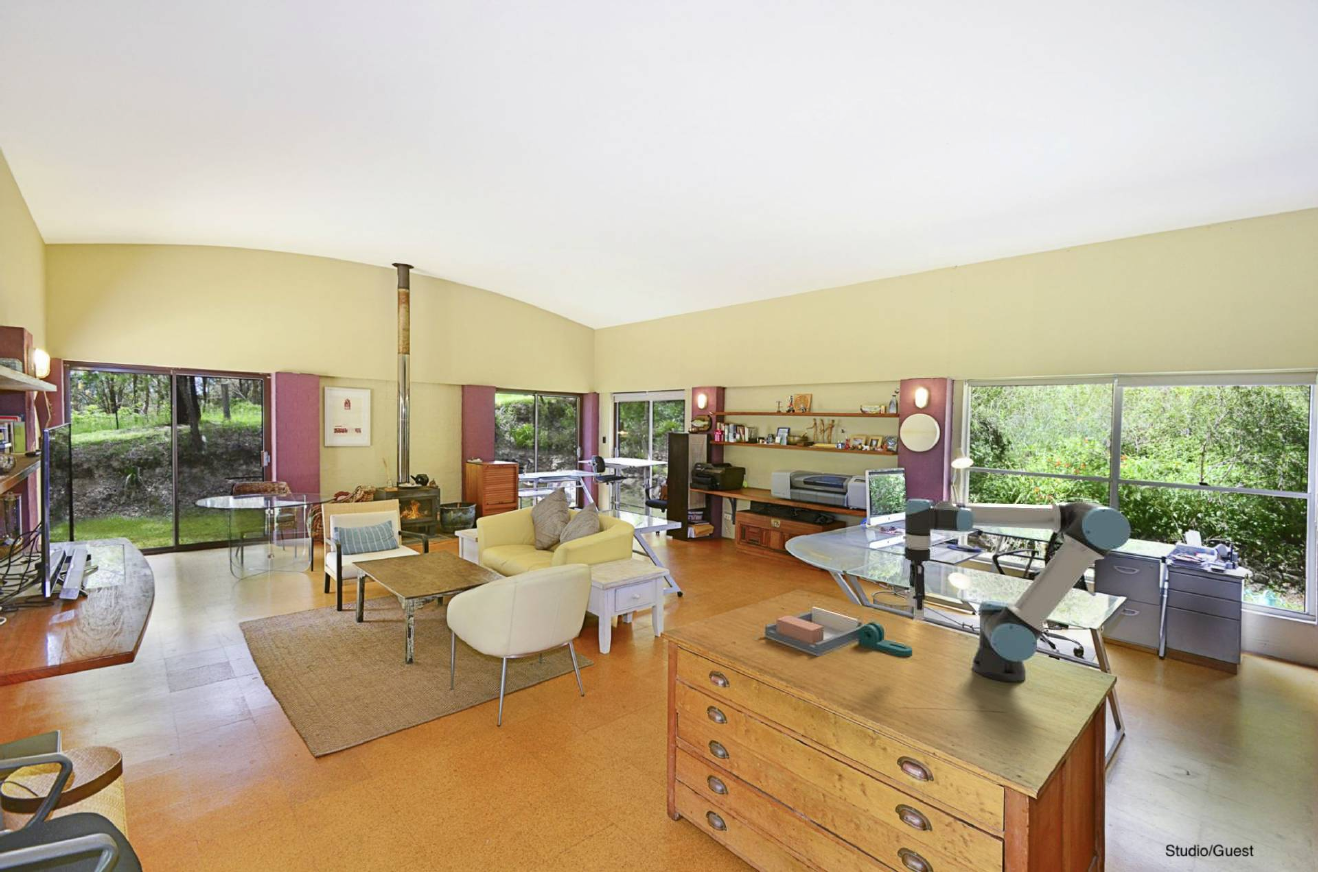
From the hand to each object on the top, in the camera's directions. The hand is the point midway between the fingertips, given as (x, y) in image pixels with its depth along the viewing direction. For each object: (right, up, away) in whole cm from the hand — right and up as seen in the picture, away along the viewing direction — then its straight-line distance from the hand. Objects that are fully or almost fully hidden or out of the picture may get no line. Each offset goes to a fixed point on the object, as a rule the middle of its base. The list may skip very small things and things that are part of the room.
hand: (916, 612), depth 190 cm
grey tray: (-23, -20, +35) cm, 46 cm away
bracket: (0, -21, +24) cm, 32 cm away
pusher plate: (-14, -19, +43) cm, 49 cm away
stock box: (-31, -20, +29) cm, 47 cm away
